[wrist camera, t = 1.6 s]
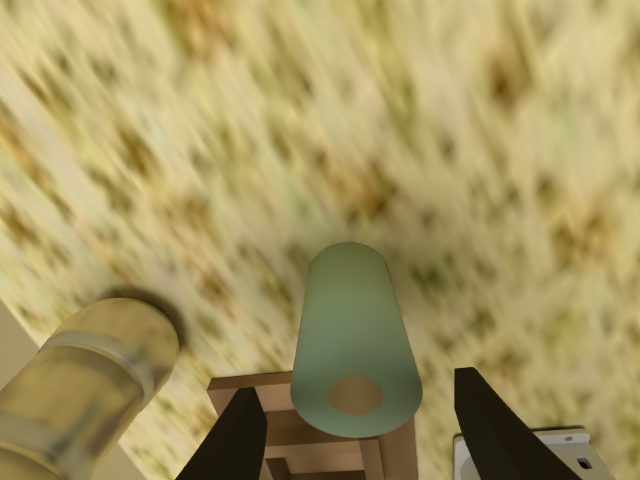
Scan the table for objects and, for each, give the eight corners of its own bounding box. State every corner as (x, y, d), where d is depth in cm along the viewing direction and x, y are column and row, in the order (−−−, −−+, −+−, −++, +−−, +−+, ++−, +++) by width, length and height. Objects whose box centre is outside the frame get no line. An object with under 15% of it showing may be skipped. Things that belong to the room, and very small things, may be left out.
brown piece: (406, 360, 21) (418, 407, 18) (416, 481, 27) (427, 532, 24) (211, 379, 23) (191, 425, 20) (260, 488, 28) (250, 537, 25)
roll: (384, 237, 17) (419, 339, 10) (391, 306, 19) (425, 434, 12) (300, 248, 18) (276, 354, 11) (315, 315, 20) (304, 442, 13)
